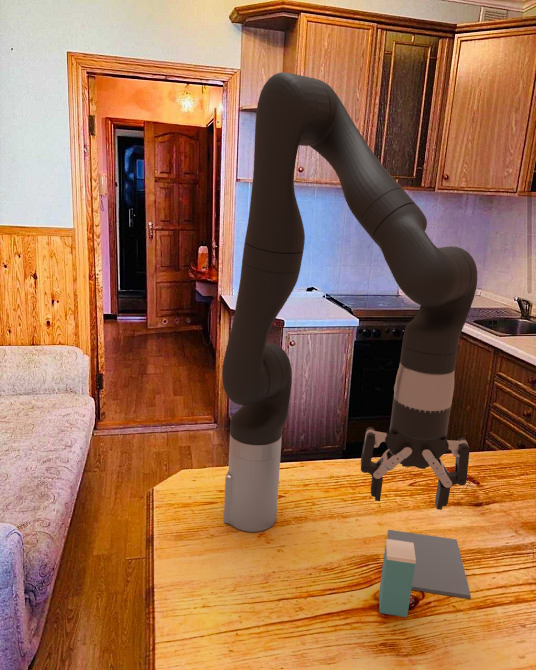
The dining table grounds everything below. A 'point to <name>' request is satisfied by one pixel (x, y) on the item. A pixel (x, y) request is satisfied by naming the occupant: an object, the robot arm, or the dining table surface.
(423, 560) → the mat
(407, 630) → the dining table surface
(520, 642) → the dining table surface
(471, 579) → the dining table surface
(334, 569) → the dining table surface
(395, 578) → the block
